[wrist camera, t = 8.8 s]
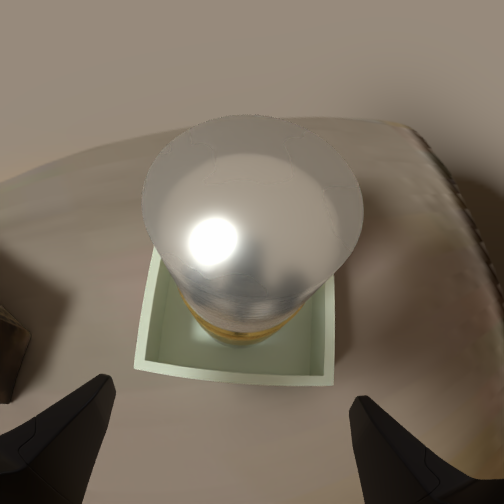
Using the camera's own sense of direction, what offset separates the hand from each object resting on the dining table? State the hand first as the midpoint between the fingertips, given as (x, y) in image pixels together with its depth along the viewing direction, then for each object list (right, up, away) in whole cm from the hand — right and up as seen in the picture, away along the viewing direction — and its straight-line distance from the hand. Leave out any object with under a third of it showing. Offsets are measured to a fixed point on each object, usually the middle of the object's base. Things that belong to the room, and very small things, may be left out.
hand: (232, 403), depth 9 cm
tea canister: (0, +2, +10) cm, 10 cm away
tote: (0, +5, +12) cm, 13 cm away
